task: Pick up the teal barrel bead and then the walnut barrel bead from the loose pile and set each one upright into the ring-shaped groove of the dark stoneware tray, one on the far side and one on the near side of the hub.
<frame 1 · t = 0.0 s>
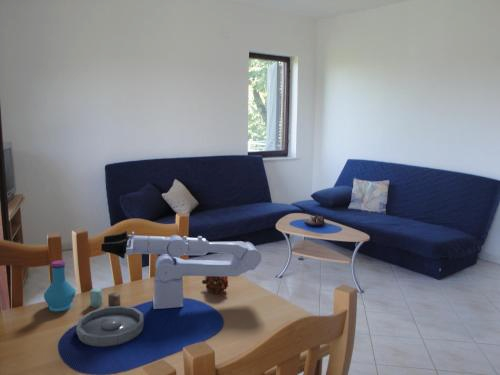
hand: (102, 243, 127), 22 cm above the table, tool horizontal, fingers open, 7 cm apart
bead walnut: (114, 309, 130), on the table
perfume bottle: (60, 307, 131), on the table
bead teal: (96, 304, 132), on the table
tray: (111, 329, 118), on the table
brown pine cone: (215, 291, 146), on the table
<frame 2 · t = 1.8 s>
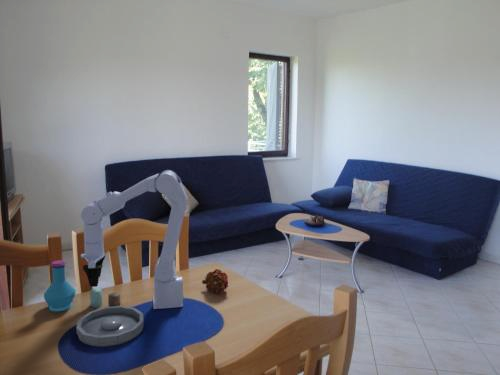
hand: (95, 281, 131), 8 cm above the table, tool pointing down, fingers open, 7 cm apart
nothing on the table moved.
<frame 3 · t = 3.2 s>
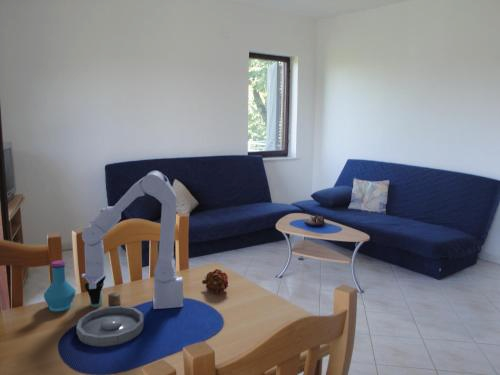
hand: (96, 300, 132), 1 cm above the table, tool pointing down, fingers closed on bead teal, 4 cm apart
bead teal: (96, 304, 132), on the table, touching gripper
everything else where it was.
when the fingers open (3 cm above the table, at t = 6.1 s): bead teal stays where it is, resting on tray.
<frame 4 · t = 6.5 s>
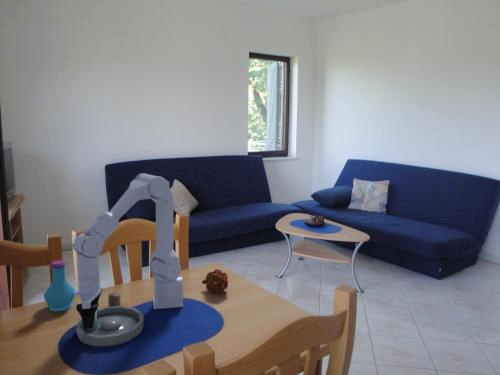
hand: (90, 320, 116), 3 cm above the table, tool pointing down, fingers open, 7 cm apart
bead teal: (90, 328, 116), point 1 cm above the table, touching tray
everything else where it was.
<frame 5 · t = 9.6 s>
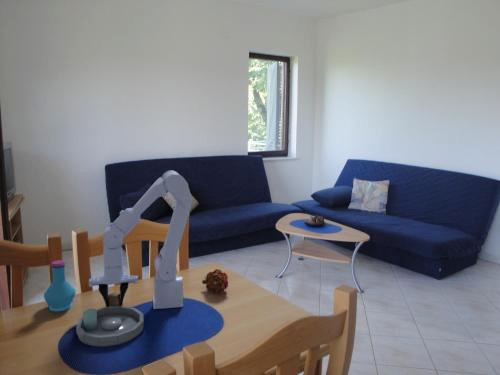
hand: (114, 305, 129), 1 cm above the table, tool pointing down, fingers closed on bead walnut, 4 cm apart
bead walnut: (114, 309, 130), on the table, touching gripper
everything else where it was.
when the fingers open (3 cm above the table, at t = 12.1 s): bead walnut stays where it is, resting on tray.
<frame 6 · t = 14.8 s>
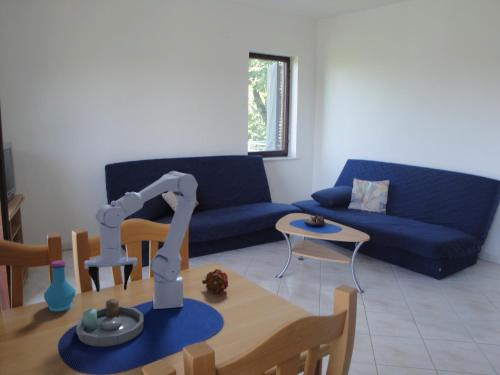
hand: (111, 289, 121), 10 cm above the table, tool pointing down, fingers open, 7 cm apart
bead walnut: (112, 317, 123), point 1 cm above the table, touching tray
everything else where it was.
at the end: bead teal 0.1 cm from the target spot on the tray, point 1.0 cm above the tray's base; bead walnut 0.1 cm from the target spot on the tray, point 1.0 cm above the tray's base; bead walnut tilted 0° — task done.
